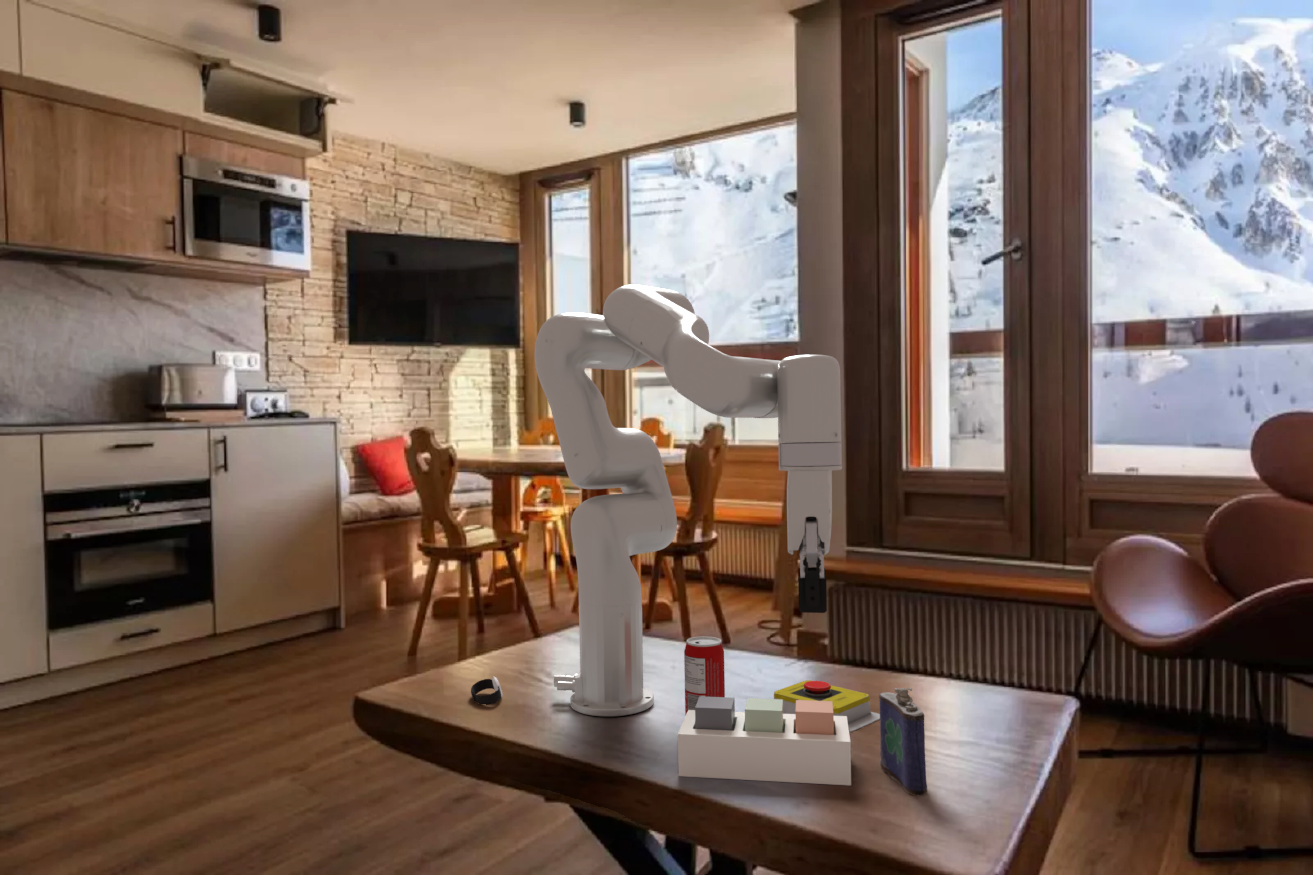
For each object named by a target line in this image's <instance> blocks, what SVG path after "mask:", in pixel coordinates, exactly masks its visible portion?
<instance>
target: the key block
mask: <svg viewBox="0 0 1313 875" xmlns="http://www.w3.org/2000/svg"><path fill="white" fill-rule="evenodd" d="M833 719H834V735H821V734H798V733H796V714H783V733H776V732H753V731H745V711H735V729H734V731H730V730H708V729H695V710H688V712H687V714H686V716H685V717H684V718H683V721H682V724H681V726H680V727H679V730H678V732H677V757H678V760H677V764H678V768H677V769H678V777H689V778H703V779H705V778H706V779H724V780H725V779H726V780H727V779H729V780H743V781H744V780H745V781H746V780H747V781H761V782H779V783H781V782H782V783H796V784H797V783H801V784H818V785H819V784H820V785H835V786H852V763H851V762H852V761H851V760H852V759H851V754H852V753H851V748H852V747H851V736H850V732H849V728H848V721H847V716H833Z"/></svg>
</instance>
